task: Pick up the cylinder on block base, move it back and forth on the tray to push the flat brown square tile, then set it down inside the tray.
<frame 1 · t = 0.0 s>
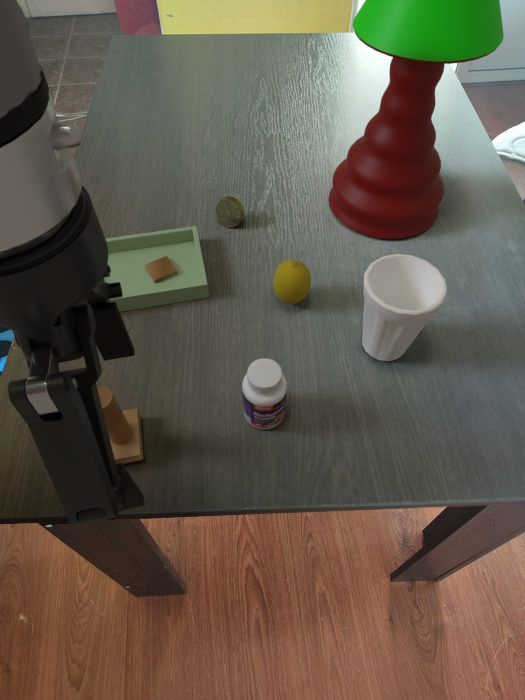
hand: (122, 422, 38), 20 cm above the table, tool pointing down, fingers open, 13 cm apart
lemon: (290, 301, 72), on the table
cylinder on block base: (125, 442, 58), on the table
flat brown square tile: (161, 271, 75), resting on tray
table lamp: (382, 205, 85), on the table
pill bottle: (264, 412, 61), on the table
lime: (230, 223, 83), on the table
tray: (143, 276, 75), on the table
cup: (382, 345, 67), on the table
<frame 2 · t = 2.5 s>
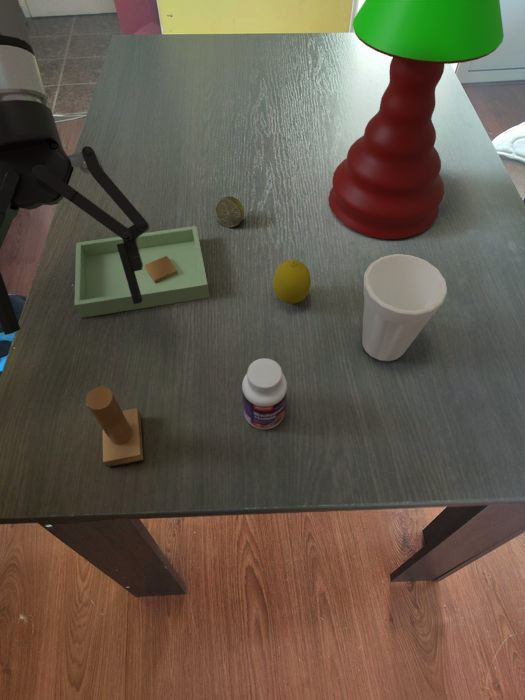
hand: (76, 317, 51), 15 cm above the table, tool tilted 45°, fingers open, 13 cm apart
nothing on the table moved.
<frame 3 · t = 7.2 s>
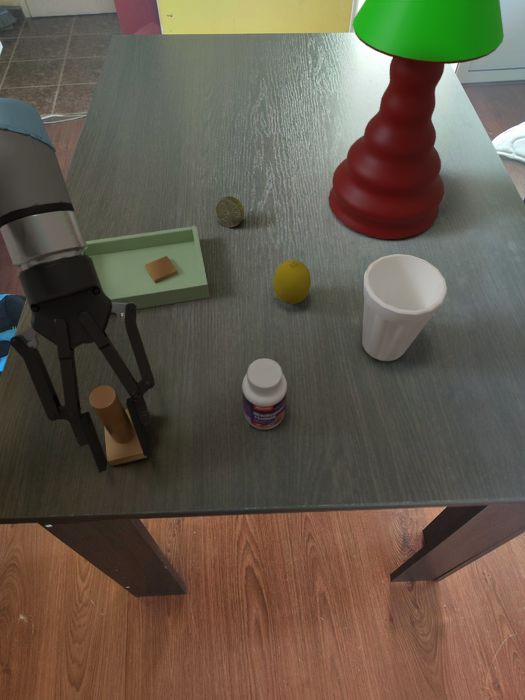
hand: (125, 458, 54), 3 cm above the table, tool tilted 45°, fingers closed on cylinder on block base, 4 cm apart
cylinder on block base: (128, 440, 59), on the table, touching gripper
everything else where it was.
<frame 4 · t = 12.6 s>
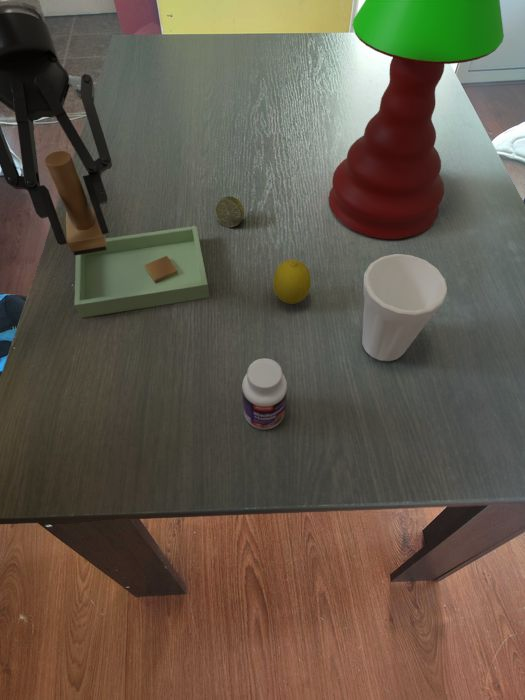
hand: (83, 237, 56), 16 cm above the table, tool tilted 45°, fingers closed on cylinder on block base, 4 cm apart
cylinder on block base: (89, 237, 61), point 13 cm above the table, touching gripper
everything else where it was.
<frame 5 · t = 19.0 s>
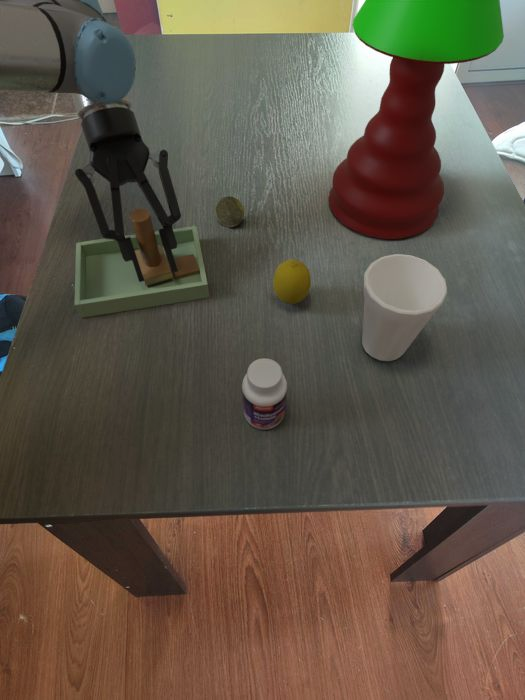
hand: (158, 276, 70), 3 cm above the table, tool tilted 45°, fingers closed on cylinder on block base, 4 cm apart
cylinder on block base: (155, 271, 75), point 1 cm above the table, touching gripper, tray
flat brown square tile: (185, 268, 75), resting on tray
everything else where it was.
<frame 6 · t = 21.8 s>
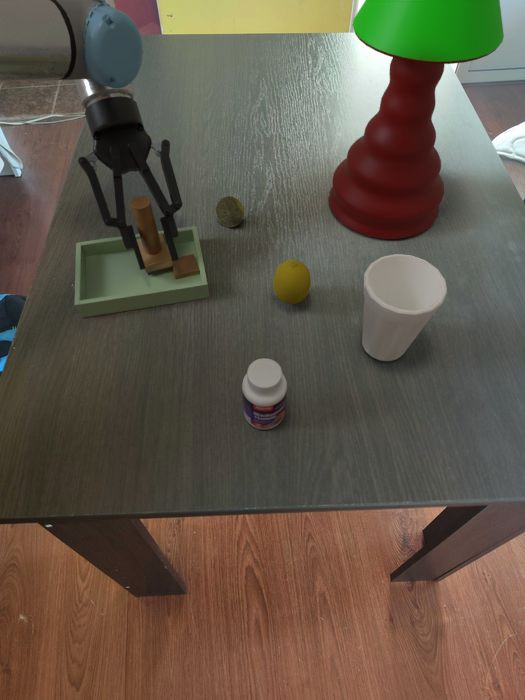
hand: (159, 264, 71), 4 cm above the table, tool tilted 45°, fingers closed on cylinder on block base, 4 cm apart
cylinder on block base: (156, 259, 76), point 1 cm above the table, touching flat brown square tile, gripper
flat brown square tile: (185, 268, 75), resting on tray, touching cylinder on block base
everything else where it was.
when the fingers open (3 cm above the table, at t = 23.6 s): cylinder on block base stays where it is, resting on tray.
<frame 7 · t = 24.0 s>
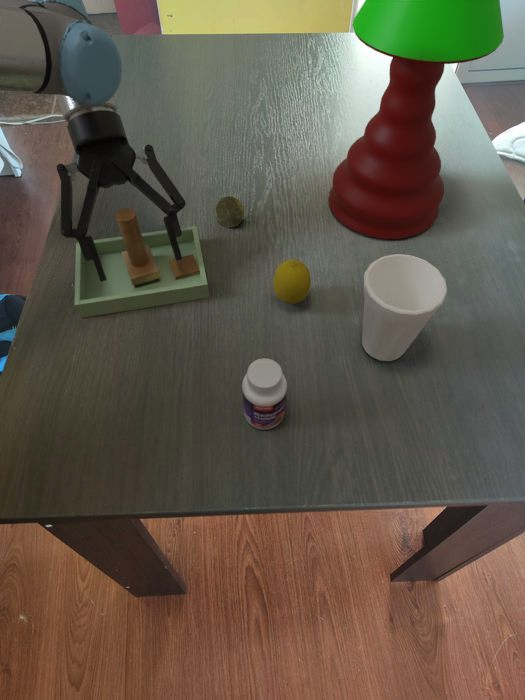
hand: (142, 270, 70), 4 cm above the table, tool tilted 45°, fingers open, 11 cm apart
cylinder on block base: (143, 271, 75), resting on tray
flat brown square tile: (184, 268, 75), resting on tray
everything else where it was.
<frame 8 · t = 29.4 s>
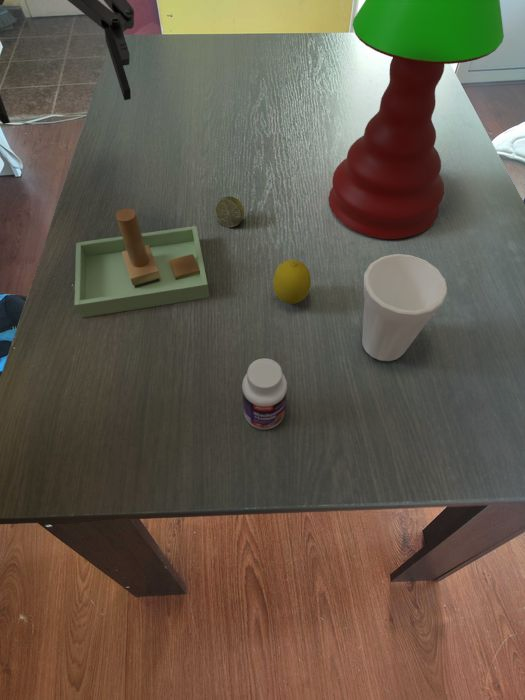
hand: (67, 107, 52), 28 cm above the table, tool tilted 45°, fingers open, 13 cm apart
nothing on the table moved.
at the end: flat brown square tile moved 3.7 cm from its start; cylinder on block base inside the target area in the tray (0.5 cm from its centre), point 0.5 cm above the tray's base; cylinder on block base tilted 0° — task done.
